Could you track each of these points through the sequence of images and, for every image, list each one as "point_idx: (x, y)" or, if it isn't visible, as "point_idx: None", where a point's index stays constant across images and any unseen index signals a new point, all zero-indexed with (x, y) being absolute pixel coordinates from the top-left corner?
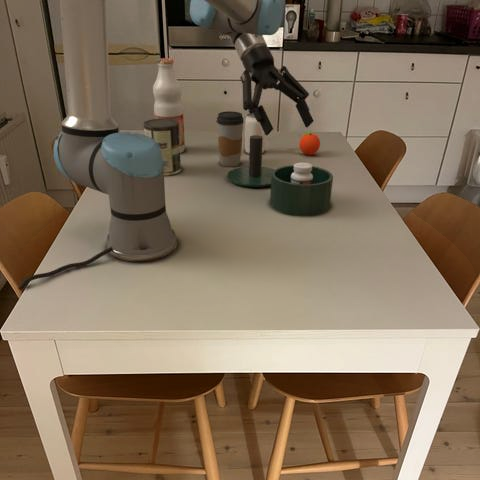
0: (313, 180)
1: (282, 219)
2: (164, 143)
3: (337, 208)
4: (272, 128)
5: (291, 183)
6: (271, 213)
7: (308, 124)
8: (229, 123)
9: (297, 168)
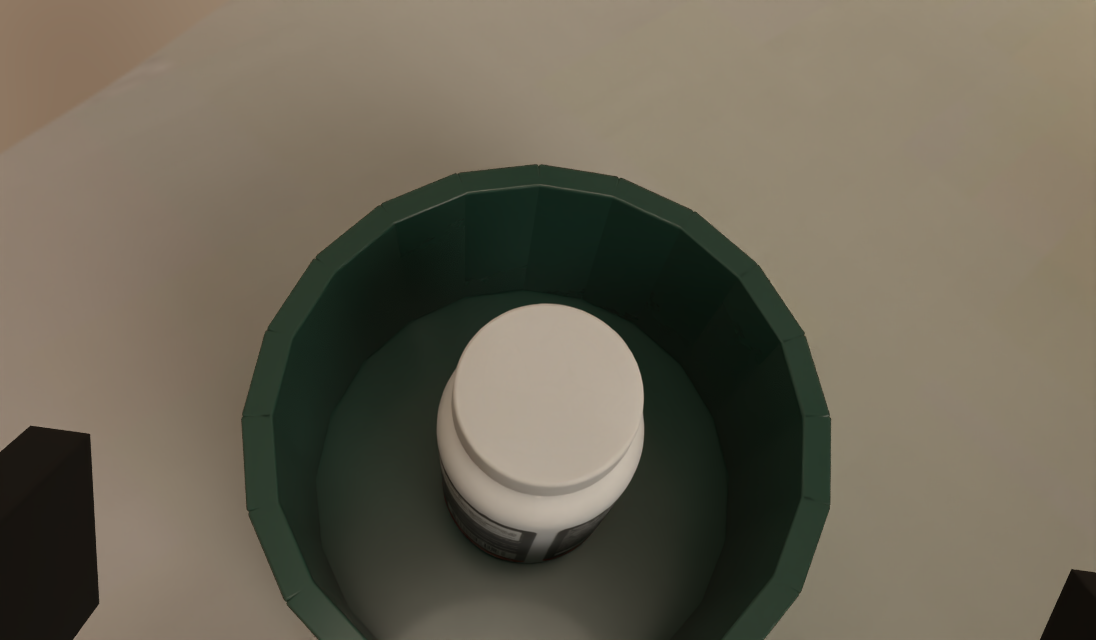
0: (298, 493)
1: None
2: None
3: None
4: (1094, 574)
5: (790, 338)
6: None
7: (90, 531)
8: None
9: (642, 389)
